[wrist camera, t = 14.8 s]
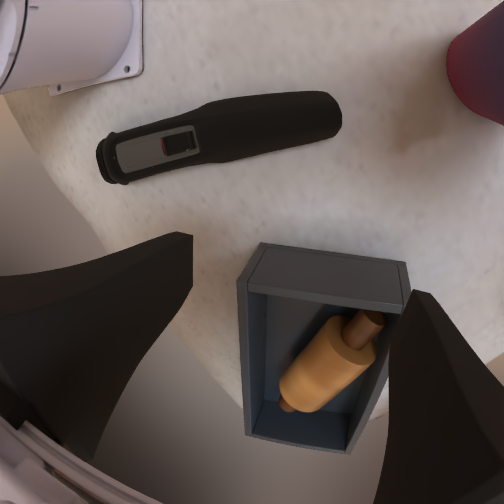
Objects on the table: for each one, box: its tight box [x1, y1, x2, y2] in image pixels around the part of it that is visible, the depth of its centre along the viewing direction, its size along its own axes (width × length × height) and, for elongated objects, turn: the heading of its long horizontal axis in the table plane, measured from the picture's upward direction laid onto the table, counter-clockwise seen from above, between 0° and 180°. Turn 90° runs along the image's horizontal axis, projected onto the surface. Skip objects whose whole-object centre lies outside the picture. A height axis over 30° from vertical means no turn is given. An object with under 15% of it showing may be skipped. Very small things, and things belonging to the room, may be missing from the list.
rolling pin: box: [279, 309, 387, 412], centre depth 21 cm, size 4×11×4 cm, turn 157°
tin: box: [236, 243, 412, 454], centre depth 21 cm, size 9×16×4 cm, turn 1°
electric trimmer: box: [96, 91, 342, 185], centre depth 17 cm, size 4×16×3 cm, turn 102°
